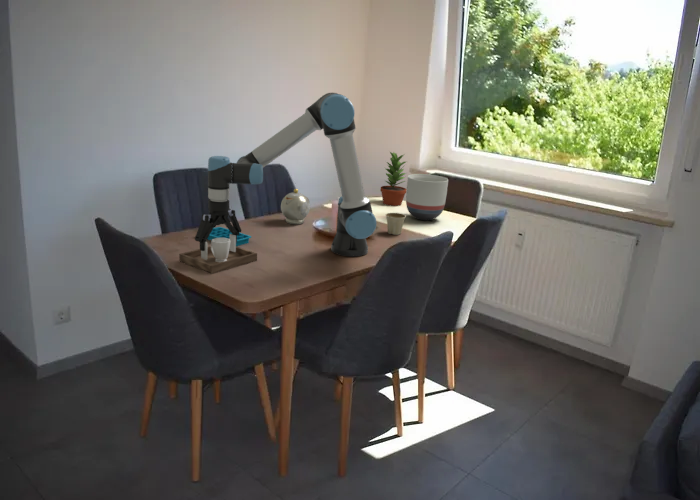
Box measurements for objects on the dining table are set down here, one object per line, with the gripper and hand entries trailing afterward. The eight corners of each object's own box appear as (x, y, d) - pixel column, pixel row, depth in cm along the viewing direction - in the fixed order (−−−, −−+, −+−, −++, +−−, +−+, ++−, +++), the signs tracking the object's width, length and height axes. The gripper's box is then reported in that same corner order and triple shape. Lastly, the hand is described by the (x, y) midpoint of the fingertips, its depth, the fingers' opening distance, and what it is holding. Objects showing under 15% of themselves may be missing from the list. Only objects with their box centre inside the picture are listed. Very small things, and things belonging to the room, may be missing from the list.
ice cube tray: (219, 233, 260) (219, 226, 259) (252, 243, 249) (252, 236, 248) (198, 238, 251) (198, 231, 250) (231, 249, 240) (232, 242, 239)
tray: (257, 260, 227) (257, 253, 226) (211, 274, 210) (211, 266, 209) (225, 249, 237) (225, 242, 237) (179, 261, 221) (179, 253, 220)
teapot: (296, 228, 274) (297, 193, 269) (273, 222, 281) (274, 188, 276) (319, 221, 289) (321, 188, 284) (297, 216, 296) (298, 183, 291)
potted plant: (411, 205, 334) (416, 152, 325) (388, 207, 327) (393, 152, 318) (396, 199, 346) (400, 148, 337) (374, 201, 339) (378, 148, 330)
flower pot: (393, 237, 271) (395, 218, 269) (379, 231, 278) (381, 213, 275) (408, 234, 277) (410, 216, 274) (394, 229, 284) (396, 211, 281)
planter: (403, 212, 317) (406, 172, 311) (441, 215, 317) (445, 175, 310) (404, 222, 298) (408, 180, 291) (445, 225, 297) (450, 183, 291)
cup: (218, 265, 218) (218, 243, 216) (203, 257, 225) (203, 237, 222) (234, 261, 223) (234, 240, 221) (219, 254, 230) (219, 234, 227)
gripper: (237, 193, 228) (237, 245, 235) (184, 202, 209) (185, 259, 216) (251, 196, 224) (250, 250, 231) (197, 206, 205) (198, 264, 211)
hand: (218, 254), depth 223 cm, fingers open, 13 cm apart
